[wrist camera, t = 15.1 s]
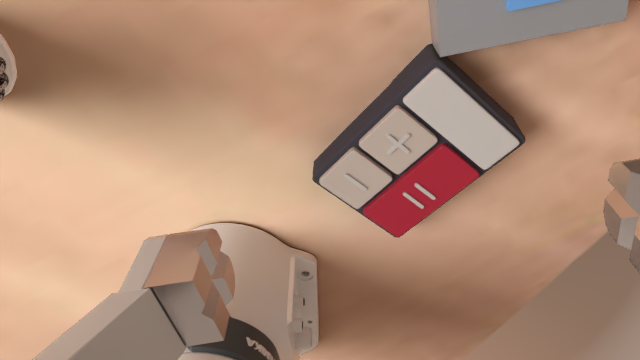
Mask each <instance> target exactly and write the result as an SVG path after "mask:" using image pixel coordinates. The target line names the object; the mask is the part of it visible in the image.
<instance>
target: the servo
mask: <svg viewBox="0 0 640 360" xmlns="http://www.w3.org/2000/svg"><path fill="white" fill-rule="evenodd" d="M556 1H561V0H506V9H507V10H508V11H514V10H518V9H523V8H528V7H532V6H537V5H542V4H547V3H551V2H556Z"/></svg>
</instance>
